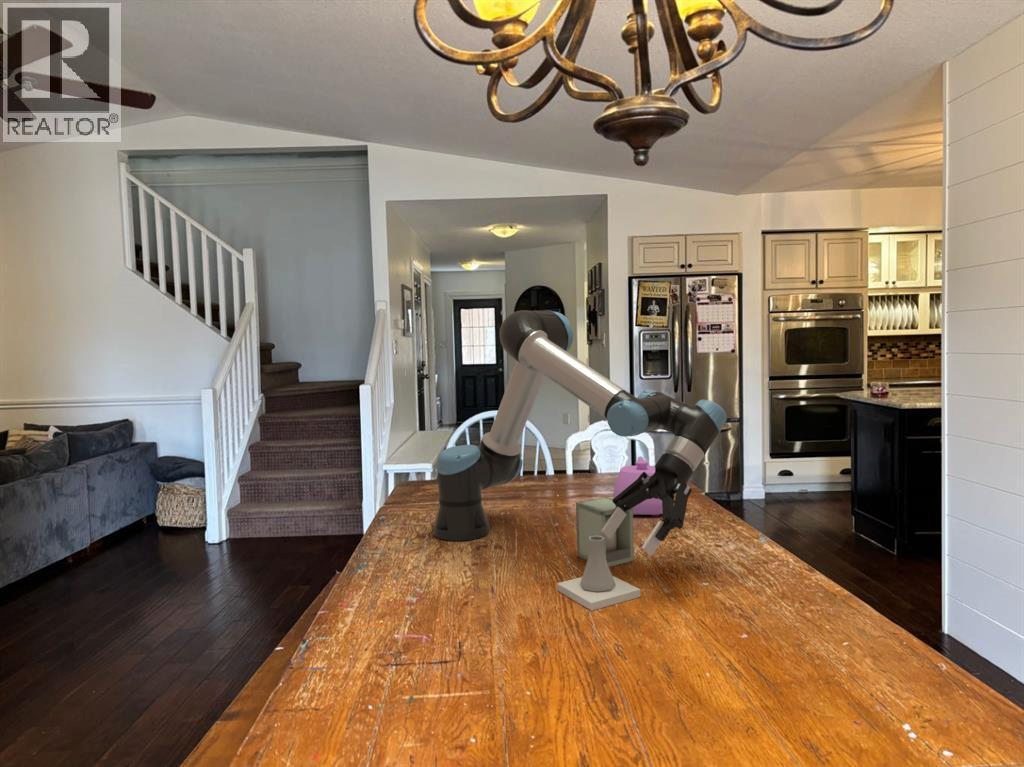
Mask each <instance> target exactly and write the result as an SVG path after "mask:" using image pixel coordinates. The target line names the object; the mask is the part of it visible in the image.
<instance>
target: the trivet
mask: <svg viewBox="0 0 1024 767" xmlns="http://www.w3.org/2000/svg"><path fill="white" fill-rule="evenodd" d="M612 577H613V579H614V582H615V586H614V587H613V589H612V590H608V591H591V590H585V589H583V588H582V586H581V585H580V582H581V579H582V576H580V577H576V578H574V579H569V580H564V581H560V582H557V583H556V588H557V589H556V590H557V592H559V593H561V594H562V595H564V596H566V597H568V598H569V599H571V600H573V601H575V602H576V603H578V604H579V605H581V606H583V607H584V608H586V609H587V610H589V611H596V610H599V609H602V608H606V607H609V606H613V605H617V604H620V603H623V602H627V601H630V600H634V599H637V598H640V597H641V589H640V588H639V587H636V586H634V585H632V584H631V583H628V582H626V581H624V580H622V579H620V578H618V577H616V576H613V575H612Z"/></svg>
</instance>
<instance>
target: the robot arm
mask: <svg viewBox="0 0 1024 767" xmlns="http://www.w3.org/2000/svg"><path fill="white" fill-rule="evenodd" d="M571 324H572V323H571V322H570V320H569V318H567V317H566V316H565V315H564V314H562V313H561V312H558V311H554V310H553V311H552V310H546V309H545V310H525V309H523V310H516V311H514V312H512V313H510V314H509V315H507V316H506V317H505V318H504V319H503V321H502V323H501V326H500V328H499V341H500V344H501V346H502V348H503V349H504V351H505V352H506V353H507V354H508V356H510V357H512V358H513V359H514V360H515V364H514V367H513V370H512V372H511V375H510V378H509V380H508V383H507V386H506V389H505V391H504V393H503V396H502V399H501V401H500V404H499V407H498V410H497V413H496V414H495V415H496V416H495V418H494V420H493V423H492V426H491V429H490V431H489V432H485V433H484V434H483V436H482V437H481V441H480V444H479V446H477V445H475V444H461V445H455V446H452V447H448V448H445V449H444V450H442V451H441V452H439V453H438V456H437V467H436V471H437V482H438V483H437V486H438V510H437V514H436V518H435V520H434V525H433V536H434V537H435V538H437V539H438V540H442V541H450V542H452V541H453V542H459V541H460V542H462V541H463V542H464V541H473V540H476V539H481V538H482V537H485V536H487V535H488V534H489V533H490V523H489V520H488V517H487V515H486V512H485V508H484V506H483V502H482V497H483V496H482V490H486V489H490V488H495V487H497V486H503V485H506V484H508V483H509V482H512V481H514V480H515V479H516V478H517V477H518V476H519V475H520V473H521V471H522V469H523V462H524V461H523V459H522V457H523V455H522V452H521V451H522V447H521V445H520V443H519V442H520V439H521V437H522V434H523V431H524V429H525V426H526V425H527V421H528V419H529V416H530V414H531V411H532V408H533V407H534V404H535V401H536V399H537V396H538V394H539V391H540V388H541V386H542V383H543V381H544V379H545V377H546V378H548V379H550V380H551V381H552V382H554V383H555V384H557V385H558V386H560V387H561V388H562V389H564V391H567V392H568V393H569V394H571V395H572V396H574V397H575V398H576V399H578V400H579V401H580V402H583V403H584V404H585V405H586V406H588V407H589V408H591V409H592V410H594V411H595V412H597V413H598V414H599V415H601V417H604V418H605V419H606V421H607V425H608V427H609V428H610V430H611V431H612V433H613V434H615V435H616V436H620V437H624V438H625V437H636V436H639V435H640V434H643V433H645V434H646V433H648V432H651V431H652V432H653V431H656V430H660V429H661V430H663V431H665V432H668V433H671V434H673V435H674V437H673V438H672V439H671V441H670V442H669V444H668V445H667V447H666V448H665V450H664V453H662V454H661V455H660V458H659V459H658V461H657V462H656V463H655V465H654V466H655V473H654V474H653V475H652V476H649V475H647V474H646V473H645V472H643V473H642V474H641V475H640V476H639V478H638V479H637V480H636V481H634V482H633V483H632V484H631V485H630V486H628V487H627V488H626V489H625V490H624V491H622V492H621V493H620V494H619V495H617V496H616V497H615V498H614V499H613V498H612V499H613V500H612V502H613V503H614V504H615V505H616V508H615V509H614V511H613V512H612V514H611V515H610V517H609V520H608V521H607V523H606V524H605V526H604V527H603V529H602V530H601V531H602V532H603V533H604V534H605V535H606V536H607V537H608V538H610V539H611V537H612V536H613V534H614V533H615V531H616V530H617V528H618V527H619V525H620V524H621V522H622V521H623V519H624V518H625V516H626V515H627V514H626V511H628V510H629V509H631V508H633V507H634V506H636V505H638V504H640V503H641V502H643V501H645V500H646V499H652V498H655V499H660V500H662V510H663V514H662V518H660V520H658V521H657V522H656V524H655V526H654V528H653V529H652V531H651V532H650V534H649V535H648V537H647V538H646V540H645V541H644V543H643V544H642V547H641V549H642V550H643V551H645V553H647V555H648V556H651V557H653V555H654V553H655V552H656V550H657V549H658V548H659V546H660V544H661V543H662V542H664V541H665V540H666V538H667V536H668V535H669V533H670V532H671V530H674V529H678V530H681V529H682V528H683V527H684V521H685V517H686V510H687V505H688V500H689V496H690V495H691V494H692V490H693V489H692V488H691V487H690V486H689V484H687V483H688V482H689V480H690V479H691V478H692V476H693V474H694V471H695V470H696V469H697V468H698V466H699V464H700V463H701V462H702V460H703V458H704V457H705V455H706V454H707V452H708V451H709V450H710V448H711V446H712V444H714V442H715V440H716V439H717V437H718V436H720V433H721V431H722V429H723V428H724V426H725V424H726V422H727V420H728V416H727V413H726V411H725V410H724V408H722V407H721V405H719V404H717V402H714V401H712V400H709V399H700V400H699V401H697V402H696V403H695V405H692V404H688V403H686V402H683V401H681V400H679V399H676V398H673V397H672V396H670V395H667V394H665V393H663V392H661V391H658V390H657V391H656V390H653V389H652V388H651V389H650V388H647V389H644V390H643V391H642V392H640V394H639V395H638V396H637V397H636V396H634V395H633V394H631V393H630V392H628V391H627V390H626V389H624V388H623V387H621V386H620V385H618V384H617V383H615V382H613V381H612V380H610V379H609V378H607V377H606V376H605V375H603V374H602V373H600V372H598V371H597V370H595V369H593V368H592V367H590V366H589V365H588V364H587V363H584V361H582V360H580V359H579V358H577V357H575V356H574V355H573V354H571V353H570V352H568V351H569V350H570V348H571V347H572V344H573V343H574V330H573V328H572V325H571ZM647 489H648V491H647ZM619 500H620V501H619ZM624 505H625V506H624Z"/></svg>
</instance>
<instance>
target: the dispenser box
mask: <svg viewBox="0 0 1024 767" xmlns="http://www.w3.org/2000/svg"><path fill="white" fill-rule="evenodd" d="M612 500H613V498H610V497H607V496H605V497H599V498H595V499H588V500H583V501H576V502H575V512H576V513H575V514H576V520H575V521H576V544H577V545H576V547H577V548H576V550H577V557H579V558H581V559H583V560H584V561H586V562H587V561H588V557H589V552H590V541H589V539H588V538H589V537H590V536H596V535H597V536H603V537H604V541H603V549H604V554H605V558H606V561H607V563H608V566H609V568H610V567H614V566H617V565H621V564H626V563H629V562H634V561H635V546H634V515H633V508H631V509H629V510H628V511H626V514H627V515H626V516H625V518H624V519H623V521H622V522H621V524H620V525H619V527H618V528H617V530H616V531H615V533H614V534H613V536H612V537H611V539H610V538H608V537H607V536H606V535H605V534H604V533H603V532H602V531H601V530H602V529H603V527H604V526H605V524H606V523H607V521H608V520H609V517H610V515H611V514H612V512H613V511H614V509H615V508H616V505H615V504H614V503H613V502H612ZM624 506H625V505H624Z"/></svg>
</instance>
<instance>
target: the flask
mask: <svg viewBox="0 0 1024 767" xmlns="http://www.w3.org/2000/svg"><path fill="white" fill-rule="evenodd" d="M588 539H589V541H590V552H589V557H588V561H587V560H586V565H585V566H584V567H585V568H584V571H583V573H582V576H581V577H582V579H581V582H580V585H581V586H582V588H583V589H585V590H591V591H608V590H612V589H613V587H614V586H615V582H614V579H613V577H612V576H613V574H612V572H611V570H610V567H609V566H608V563H607V561H606V558H605V554H604V549H603V541H604V537H603V536H597V535H596V536H590V537H589V538H588Z"/></svg>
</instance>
